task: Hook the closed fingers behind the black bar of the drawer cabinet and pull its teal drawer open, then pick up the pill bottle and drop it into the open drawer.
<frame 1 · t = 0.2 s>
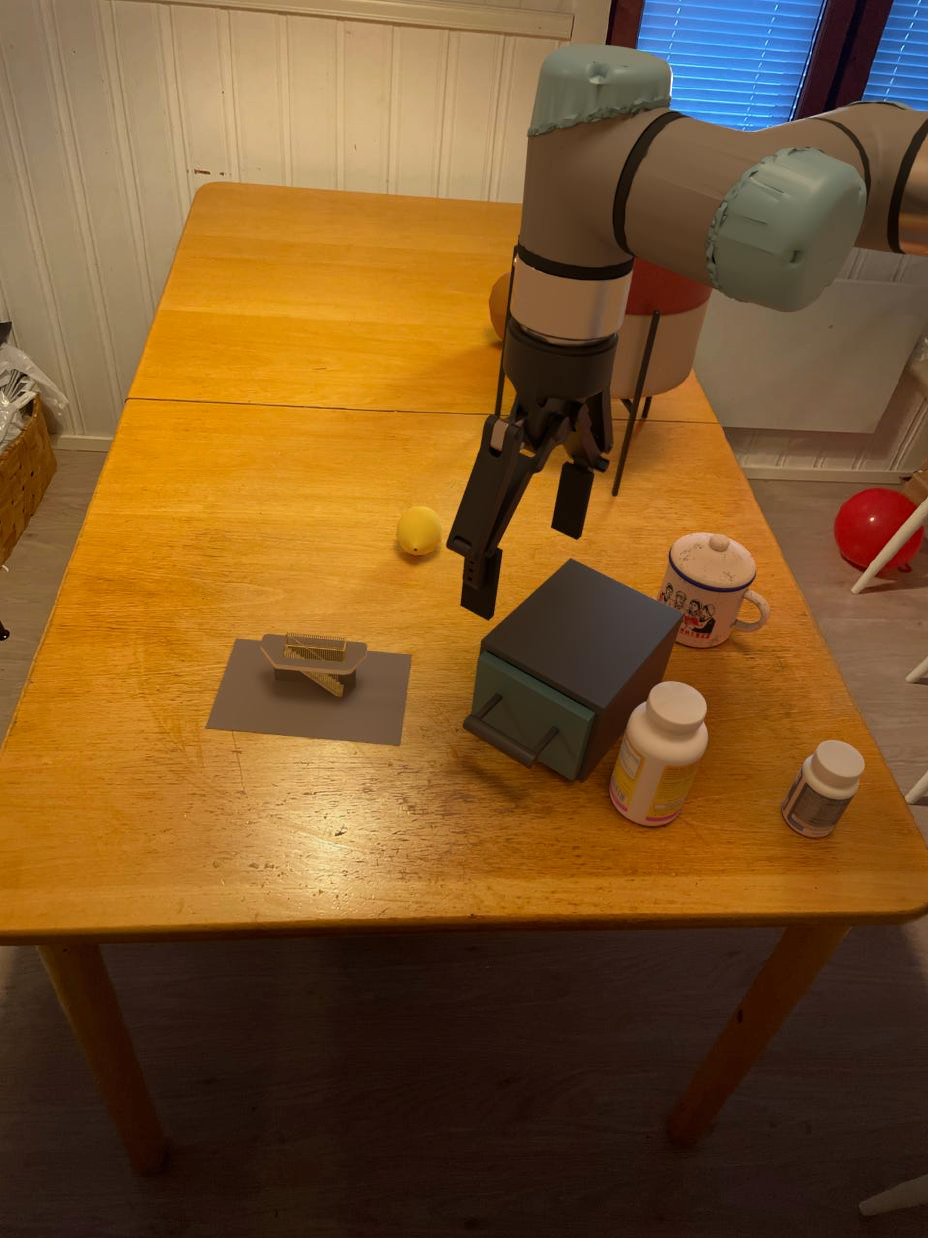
hand: (524, 569, 73), 18 cm above the table, tool pointing down, fingers open, 13 cm apart
pill bottle: (806, 817, 79), on the table
teal drawer: (553, 689, 81), point 5 cm above the table, slide at 0.0 cm
apple: (524, 344, 146), on the table
planter: (585, 446, 124), on the table
platform: (314, 690, 86), on the table
lemon: (418, 551, 103), on the table
drawer cabinet: (568, 700, 87), on the table
supplement bottle: (643, 799, 79), on the table
teacup with lid: (702, 629, 97), on the table
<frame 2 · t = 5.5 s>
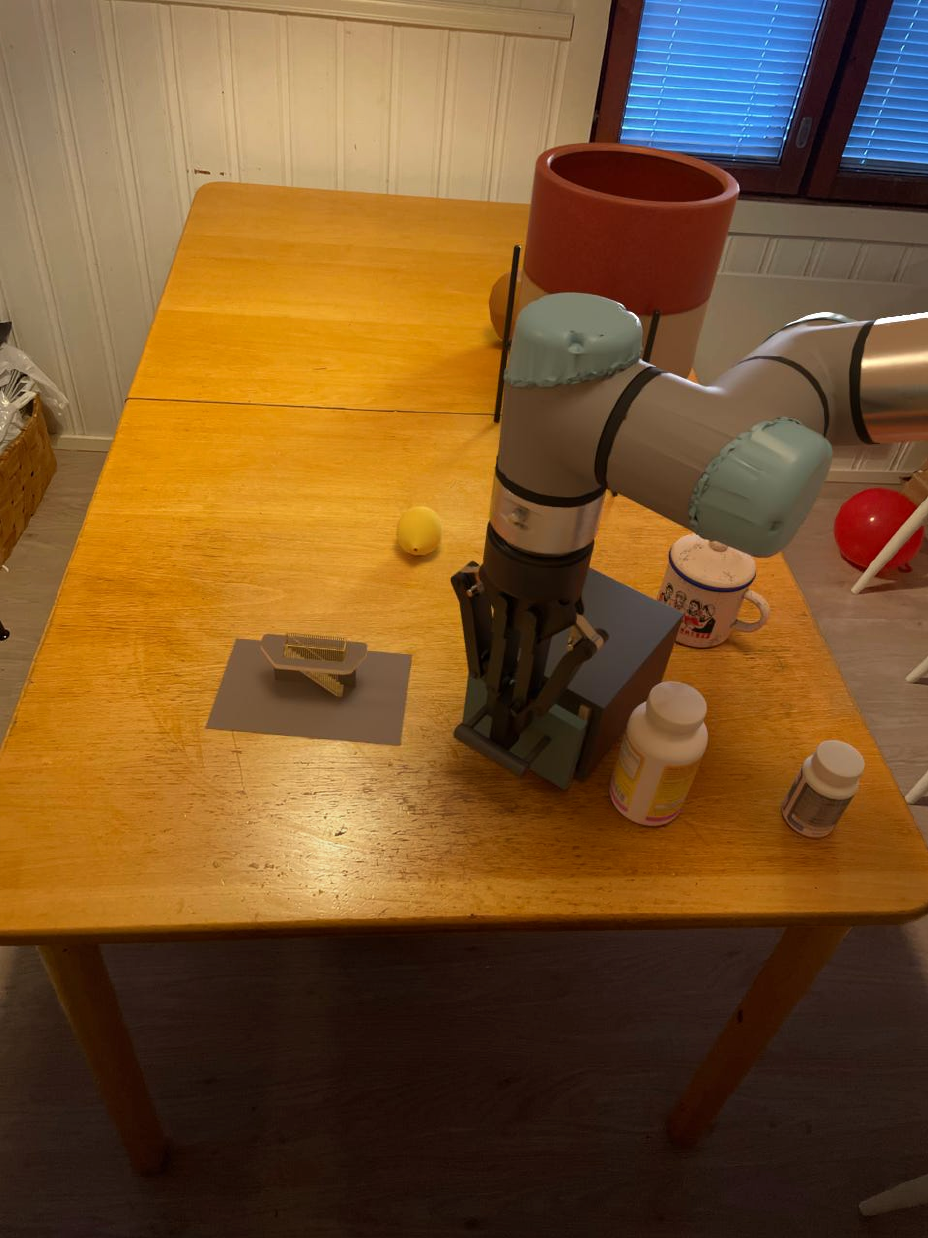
hand: (503, 744, 77), 5 cm above the table, tool pointing down, fingers closed
teal drawer: (545, 698, 80), point 5 cm above the table, slide at 1.3 cm, touching gripper
everything else where it was.
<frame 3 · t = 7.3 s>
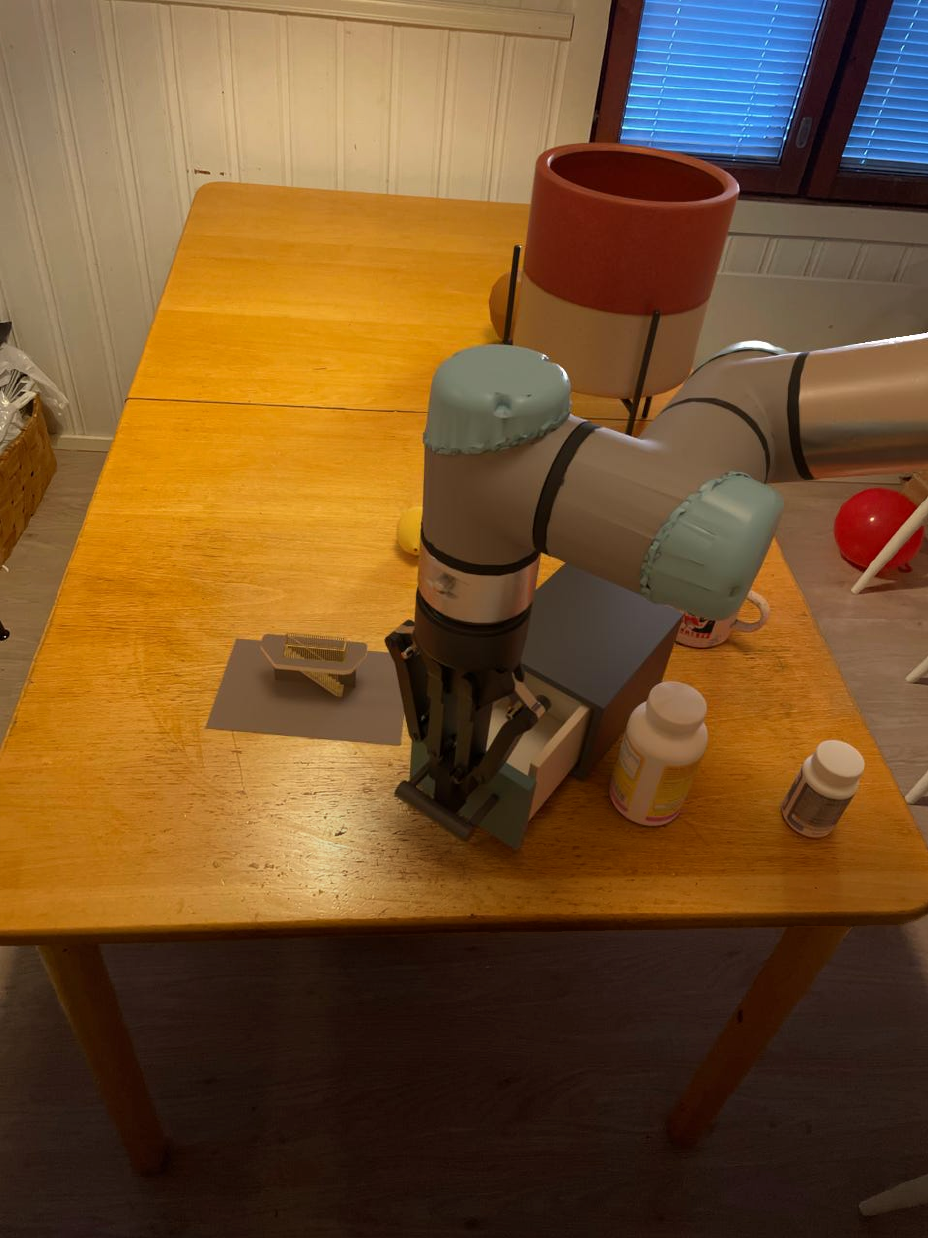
hand: (449, 808, 72), 4 cm above the table, tool pointing down, fingers closed
teal drawer: (497, 750, 75), point 5 cm above the table, slide at 9.2 cm, touching gripper
everything else where it was.
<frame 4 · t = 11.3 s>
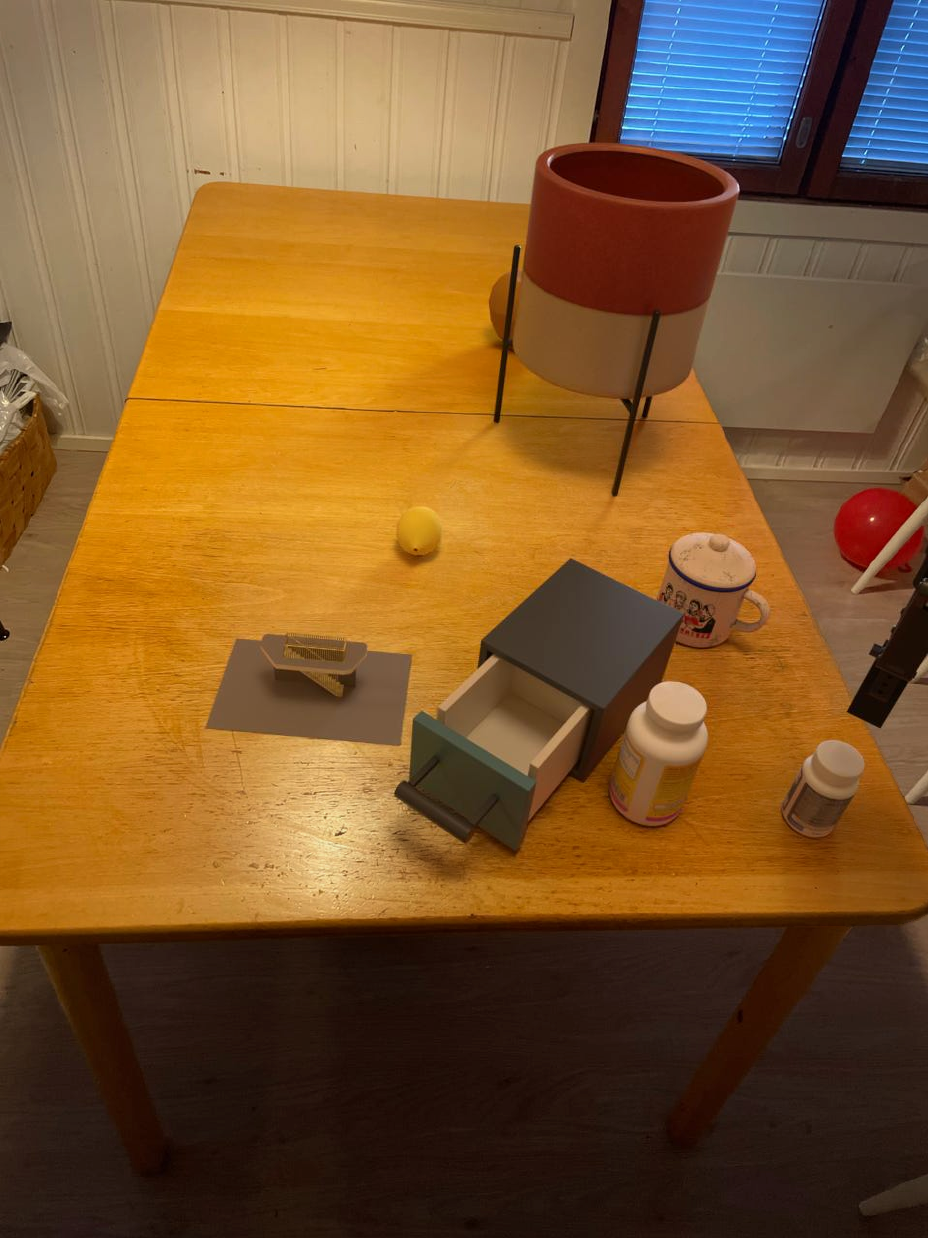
hand: (867, 712, 69), 14 cm above the table, tool pointing down, fingers closed
teal drawer: (497, 750, 75), point 5 cm above the table, slide at 9.2 cm
everything else where it was.
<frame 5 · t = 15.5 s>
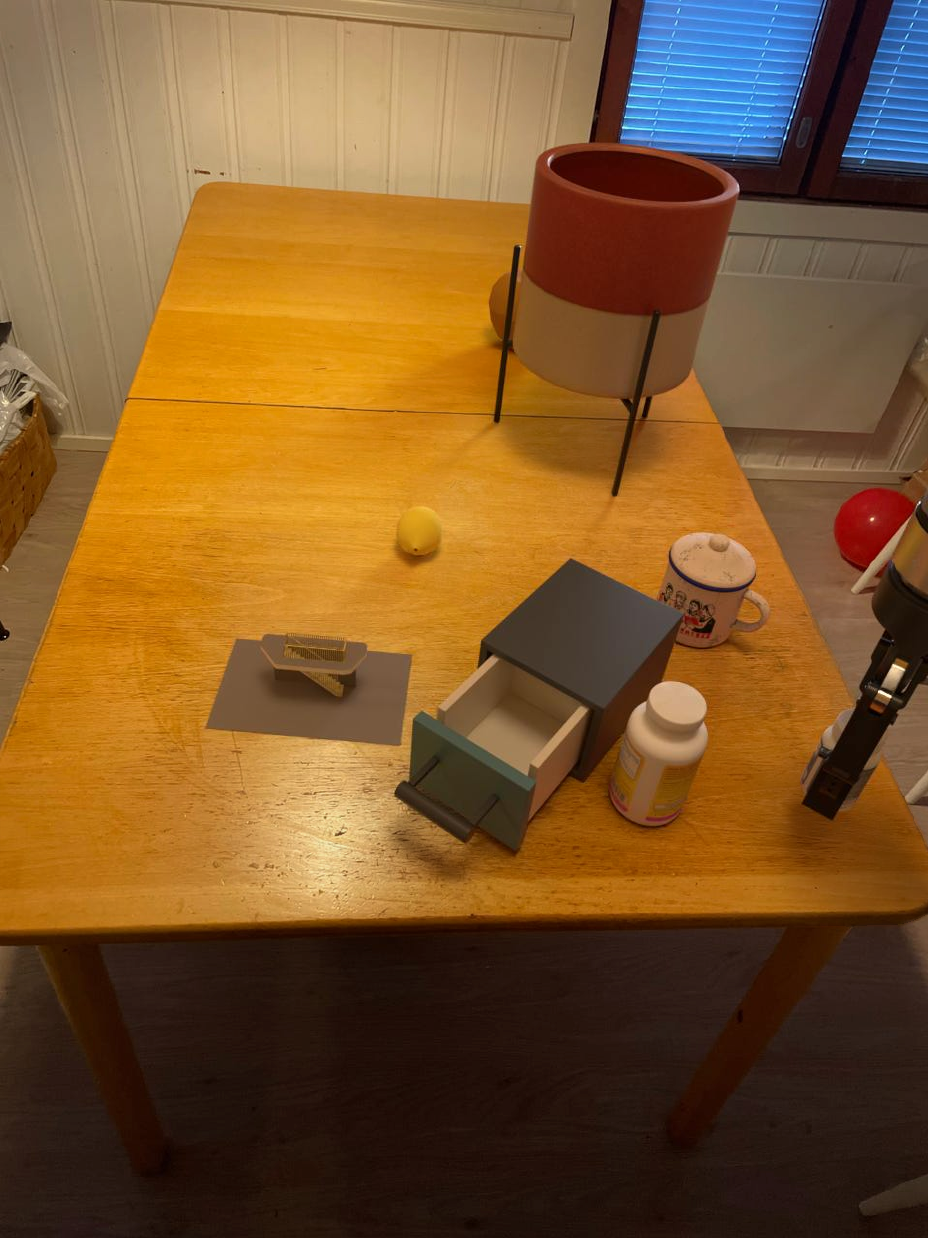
hand: (828, 788, 76), 5 cm above the table, tool pointing down, fingers closed on pill bottle, 5 cm apart
pill bottle: (825, 792, 76), point 4 cm above the table, touching gripper
everything else where it was.
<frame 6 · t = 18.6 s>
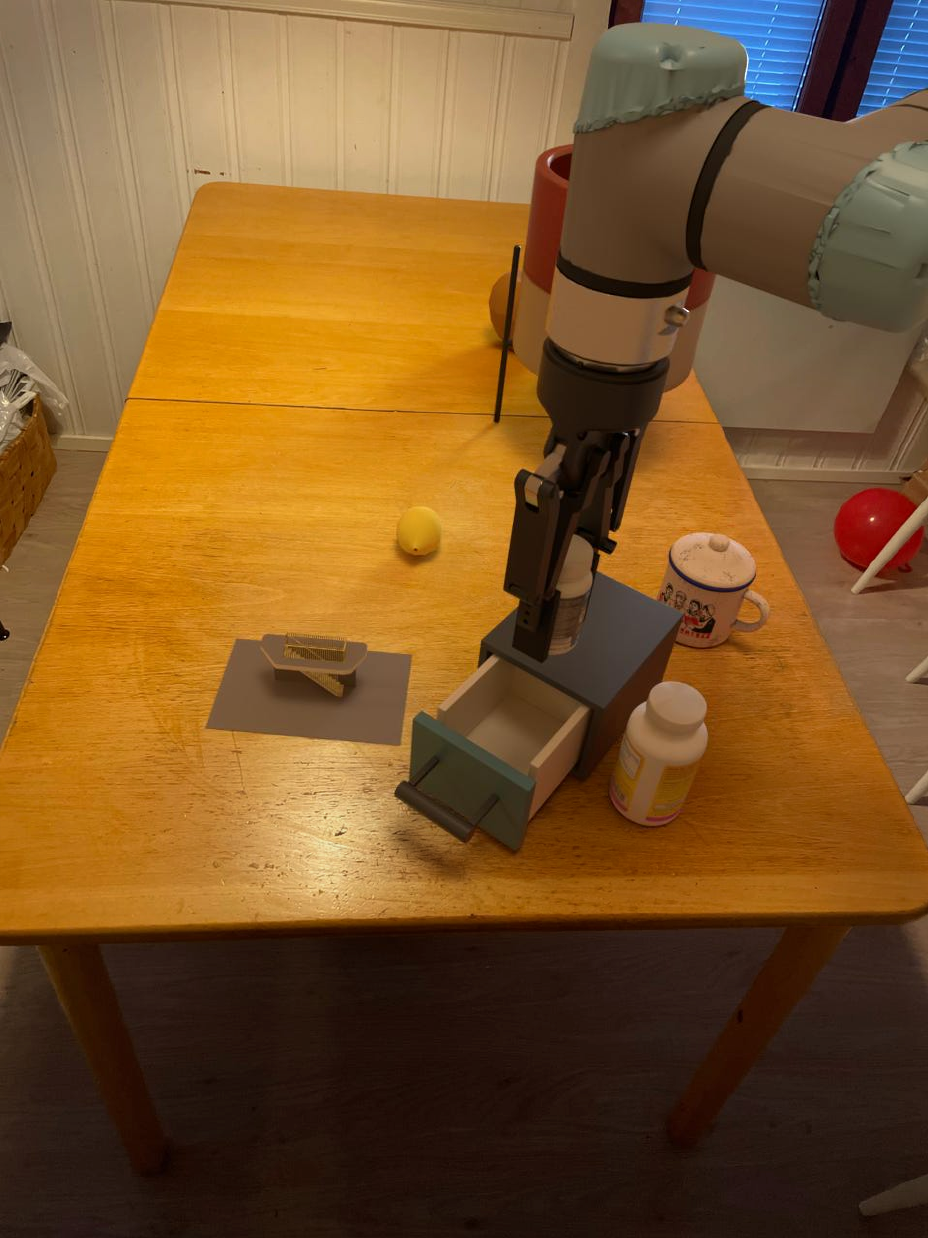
hand: (549, 632, 67), 19 cm above the table, tool pointing down, fingers closed on pill bottle, 5 cm apart
pill bottle: (547, 636, 67), point 18 cm above the table, touching gripper
everything else where it was.
when the fingers open (6 cm above the table, at t = 21.9 s): pill bottle drops 4 cm, resting on teal drawer.
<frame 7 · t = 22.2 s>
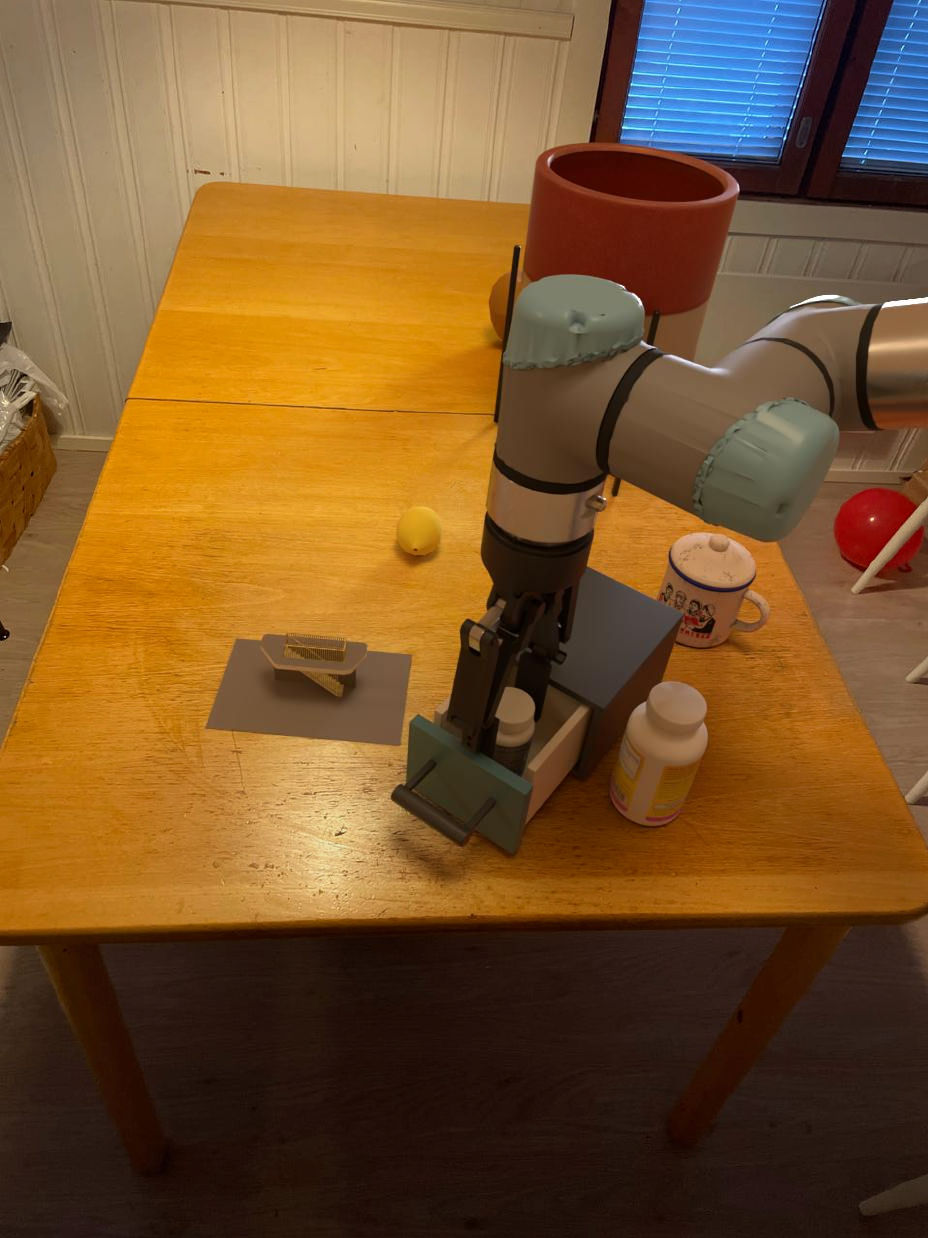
hand: (500, 738, 75), 6 cm above the table, tool pointing down, fingers open, 7 cm apart
pill bottle: (497, 767, 78), point 2 cm above the table, touching teal drawer
teal drawer: (494, 753, 75), point 5 cm above the table, slide at 9.7 cm, touching gripper, pill bottle
everything else where it was.
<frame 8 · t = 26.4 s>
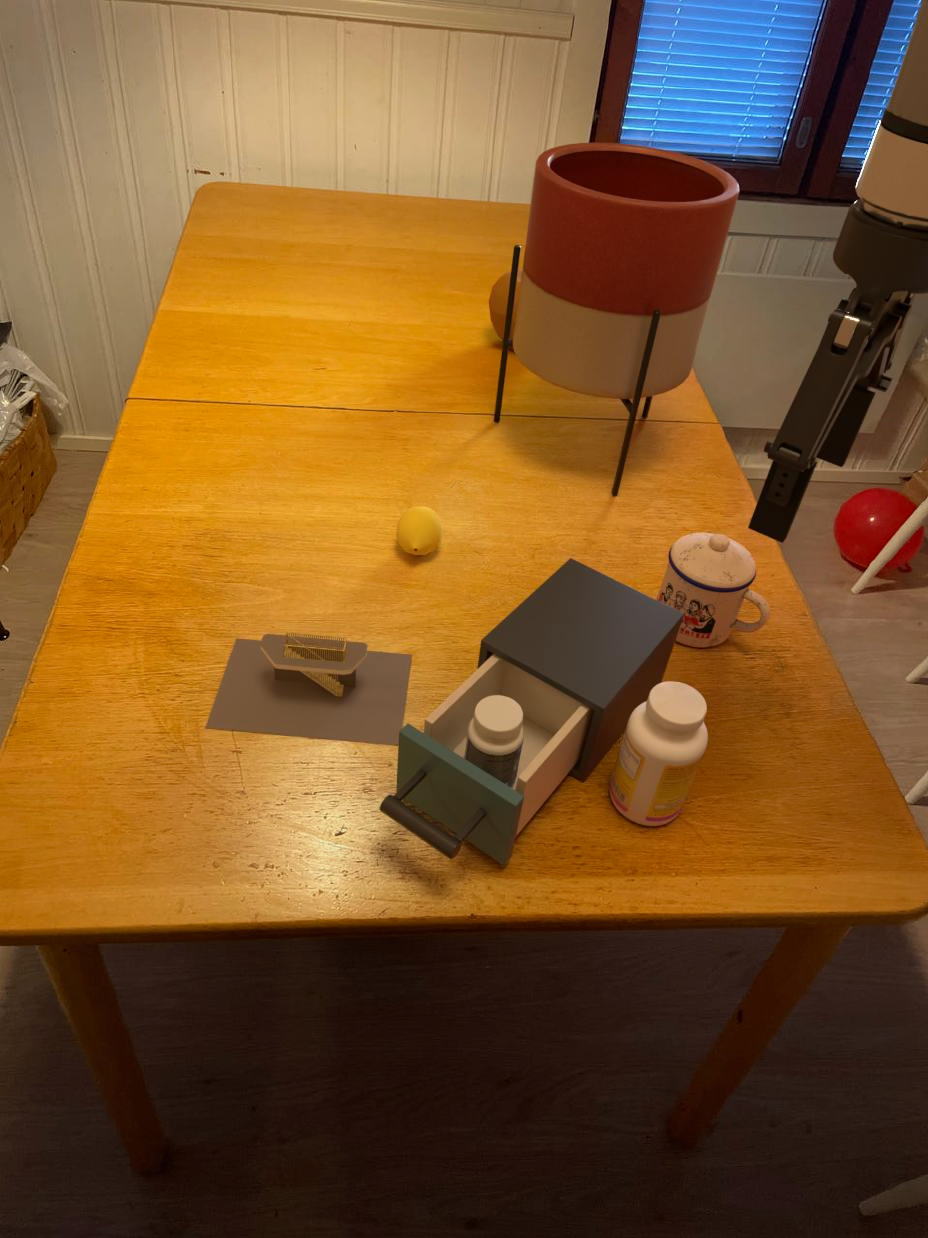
hand: (798, 494, 69), 27 cm above the table, tool pointing down, fingers open, 13 cm apart
pill bottle: (488, 777, 77), point 2 cm above the table, touching teal drawer
teal drawer: (485, 763, 74), point 5 cm above the table, slide at 11.0 cm, touching pill bottle
everything else where it was.
at the end: teal drawer slide at 11.0 cm; pill bottle inside the target area in the teal drawer (1.9 cm from its centre), point 1.8 cm above the drawer cabinet's base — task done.
